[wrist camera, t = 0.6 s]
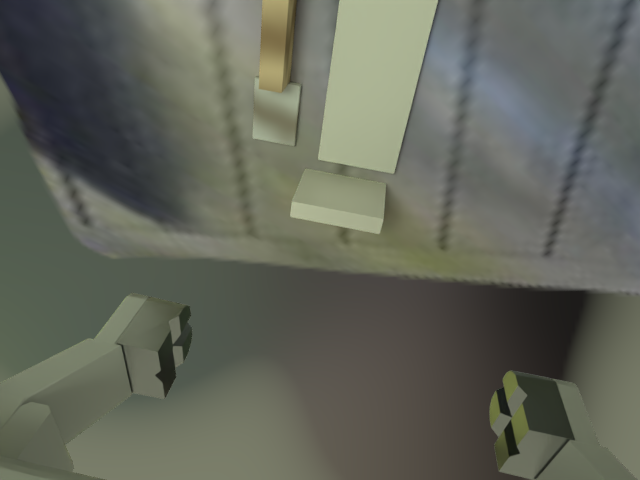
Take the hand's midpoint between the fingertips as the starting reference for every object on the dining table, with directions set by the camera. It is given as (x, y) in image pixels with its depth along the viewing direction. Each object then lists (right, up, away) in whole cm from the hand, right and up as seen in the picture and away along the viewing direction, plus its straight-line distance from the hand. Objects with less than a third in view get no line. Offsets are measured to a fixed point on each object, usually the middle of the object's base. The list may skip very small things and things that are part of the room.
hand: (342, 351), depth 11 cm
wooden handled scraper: (-5, +22, +36) cm, 42 cm away
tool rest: (+5, +20, +35) cm, 41 cm away
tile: (+2, +10, +43) cm, 44 cm away
